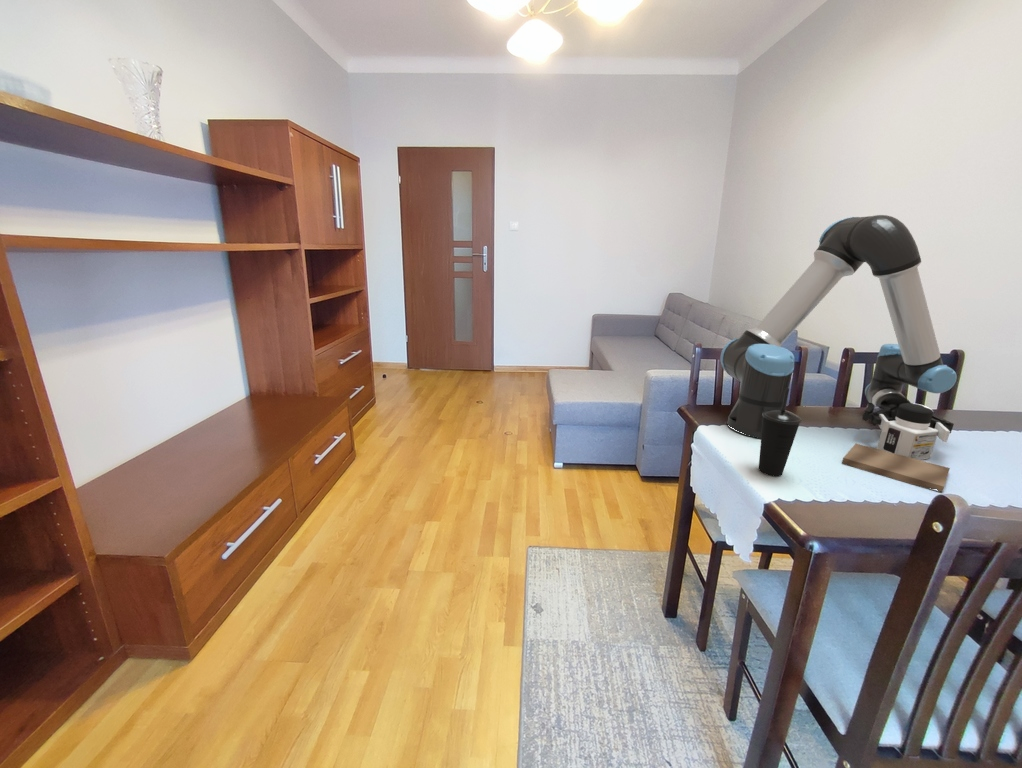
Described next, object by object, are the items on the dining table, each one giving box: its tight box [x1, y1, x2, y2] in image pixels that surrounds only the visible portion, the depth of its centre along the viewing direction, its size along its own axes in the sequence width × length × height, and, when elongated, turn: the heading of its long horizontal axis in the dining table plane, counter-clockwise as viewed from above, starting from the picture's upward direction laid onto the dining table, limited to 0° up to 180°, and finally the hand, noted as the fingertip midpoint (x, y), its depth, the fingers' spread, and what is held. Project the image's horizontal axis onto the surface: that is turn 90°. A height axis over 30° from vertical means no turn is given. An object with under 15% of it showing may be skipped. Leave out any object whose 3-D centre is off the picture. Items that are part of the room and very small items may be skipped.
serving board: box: [841, 443, 951, 494], centre depth 108 cm, size 18×13×2 cm
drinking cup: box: [758, 387, 803, 478], centre depth 102 cm, size 8×8×20 cm
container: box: [876, 402, 938, 461], centre depth 114 cm, size 8×8×13 cm
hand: (915, 431), depth 110 cm, fingers open, 11 cm apart
